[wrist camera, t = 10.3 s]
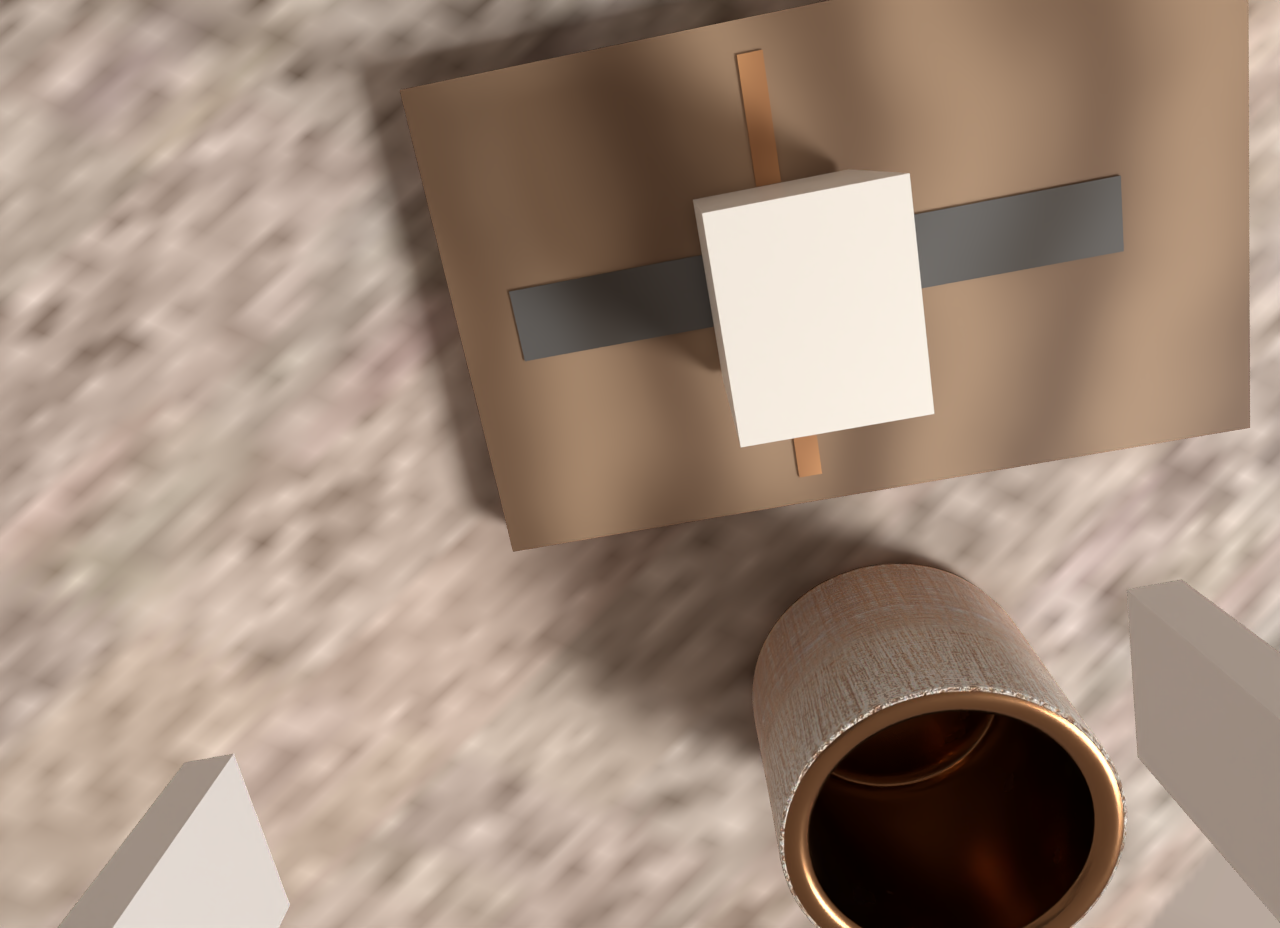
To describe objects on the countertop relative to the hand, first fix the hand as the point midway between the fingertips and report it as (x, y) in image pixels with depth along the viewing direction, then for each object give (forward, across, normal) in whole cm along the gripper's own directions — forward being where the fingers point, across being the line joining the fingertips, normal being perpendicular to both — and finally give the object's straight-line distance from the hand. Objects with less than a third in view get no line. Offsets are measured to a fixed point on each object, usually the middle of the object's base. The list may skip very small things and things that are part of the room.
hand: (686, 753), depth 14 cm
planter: (+23, -7, +13) cm, 27 cm away
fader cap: (+20, -5, -4) cm, 21 cm away
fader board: (+22, -7, -4) cm, 24 cm away
